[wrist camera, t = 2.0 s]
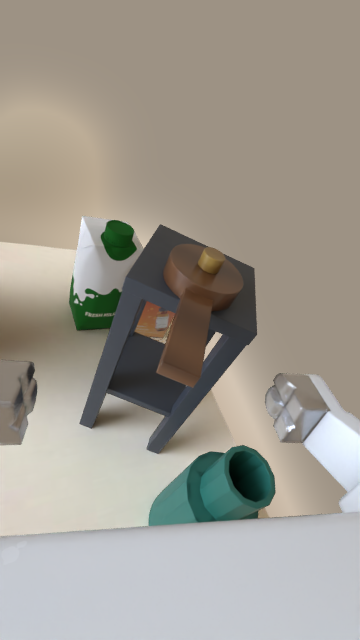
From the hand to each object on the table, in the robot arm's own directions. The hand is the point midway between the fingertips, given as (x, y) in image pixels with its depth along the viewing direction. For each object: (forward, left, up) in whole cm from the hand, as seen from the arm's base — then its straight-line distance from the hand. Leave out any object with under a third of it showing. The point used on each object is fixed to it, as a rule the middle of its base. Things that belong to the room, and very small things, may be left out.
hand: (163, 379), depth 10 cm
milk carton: (-27, +23, -32) cm, 48 cm away
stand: (-8, +17, -32) cm, 37 cm away
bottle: (+8, +11, -32) cm, 35 cm away
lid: (-5, +12, -6) cm, 14 cm away
